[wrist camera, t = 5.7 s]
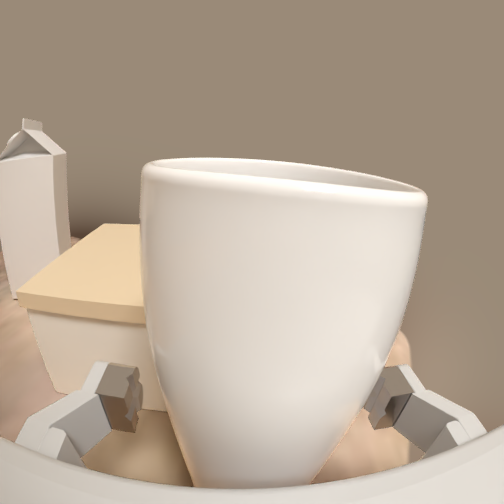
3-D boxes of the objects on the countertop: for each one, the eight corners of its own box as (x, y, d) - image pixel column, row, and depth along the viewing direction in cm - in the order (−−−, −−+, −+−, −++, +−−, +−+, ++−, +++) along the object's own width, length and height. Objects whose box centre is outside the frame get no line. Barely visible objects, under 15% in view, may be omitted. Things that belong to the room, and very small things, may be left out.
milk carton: (75, 271, 34) (68, 119, 28) (67, 297, 28) (55, 114, 22) (27, 275, 31) (16, 126, 25) (12, 301, 25) (-6, 123, 19)
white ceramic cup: (184, 546, 8) (88, 179, 3) (179, 443, 14) (159, 156, 9) (327, 529, 9) (495, 211, 4) (294, 436, 16) (349, 168, 11)
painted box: (51, 393, 16) (15, 291, 13) (111, 297, 29) (104, 223, 27) (263, 419, 17) (279, 313, 14) (249, 306, 31) (255, 229, 28)
